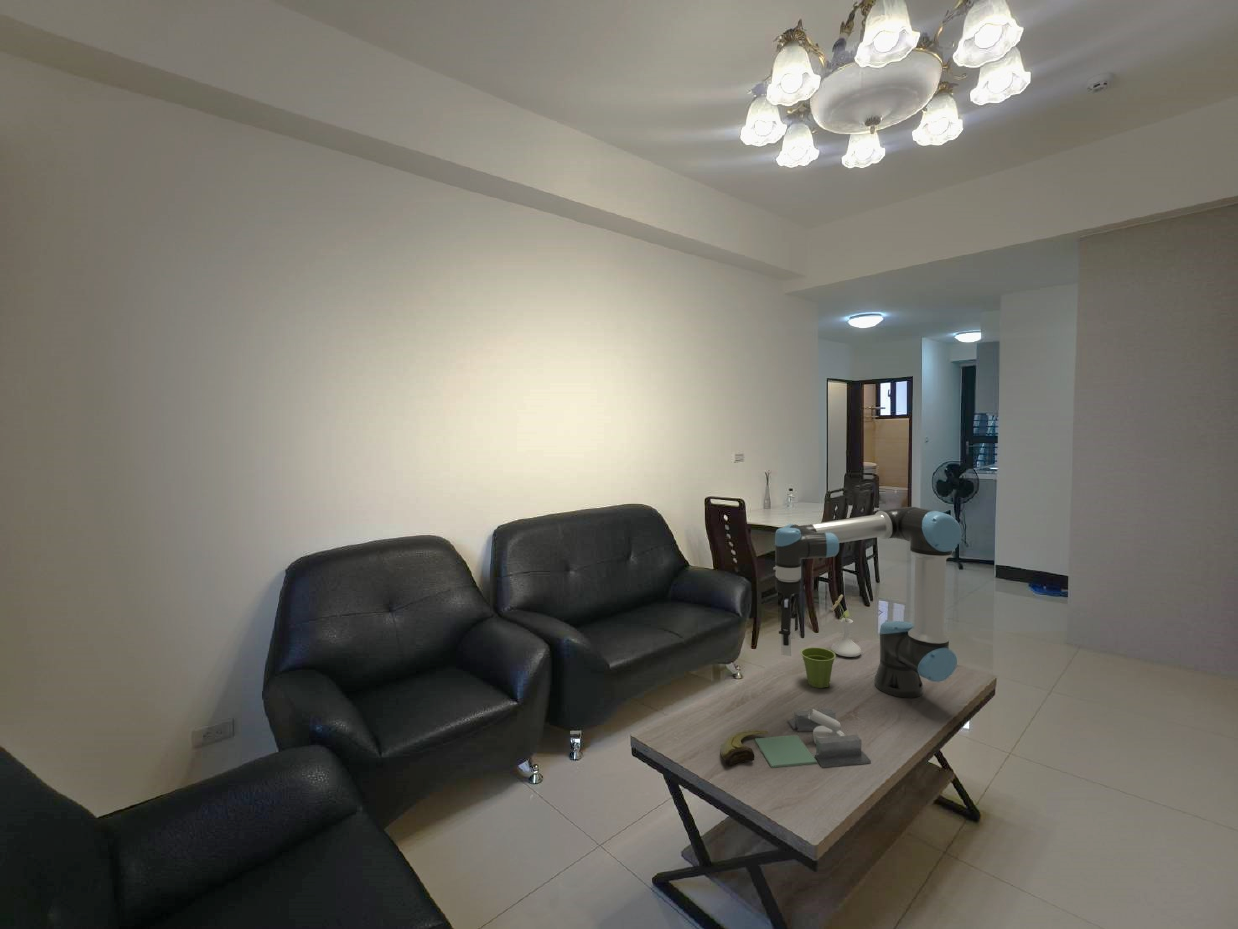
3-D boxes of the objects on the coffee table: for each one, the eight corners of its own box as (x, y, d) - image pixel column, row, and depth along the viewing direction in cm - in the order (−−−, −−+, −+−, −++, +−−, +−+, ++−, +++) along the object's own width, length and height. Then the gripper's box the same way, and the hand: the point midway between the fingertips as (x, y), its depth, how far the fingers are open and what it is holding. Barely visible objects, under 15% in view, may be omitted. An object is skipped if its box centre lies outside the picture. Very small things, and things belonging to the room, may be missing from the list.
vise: (830, 718, 171) (830, 703, 170) (870, 763, 148) (870, 745, 148) (787, 722, 169) (787, 707, 169) (822, 767, 147) (822, 750, 146)
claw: (750, 773, 145) (749, 761, 144) (713, 765, 149) (712, 753, 149) (766, 735, 162) (765, 724, 162) (733, 729, 167) (732, 718, 167)
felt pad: (796, 736, 161) (796, 735, 161) (816, 763, 148) (816, 761, 148) (754, 740, 160) (754, 738, 160) (771, 767, 147) (771, 765, 147)
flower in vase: (842, 645, 226) (842, 587, 224) (867, 655, 216) (867, 594, 215) (822, 653, 219) (822, 593, 217) (847, 663, 209) (847, 600, 208)
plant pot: (830, 676, 199) (830, 646, 198) (840, 692, 187) (840, 660, 187) (797, 676, 200) (797, 646, 199) (805, 691, 188) (805, 660, 188)
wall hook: (806, 701, 163) (841, 704, 161) (806, 732, 164) (841, 734, 162) (810, 716, 155) (847, 719, 153) (810, 748, 155) (847, 751, 153)
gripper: (779, 567, 178) (780, 630, 179) (770, 589, 155) (770, 660, 156) (803, 569, 175) (804, 633, 176) (797, 591, 152) (798, 664, 153)
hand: (788, 646), depth 166 cm, fingers open, 13 cm apart
